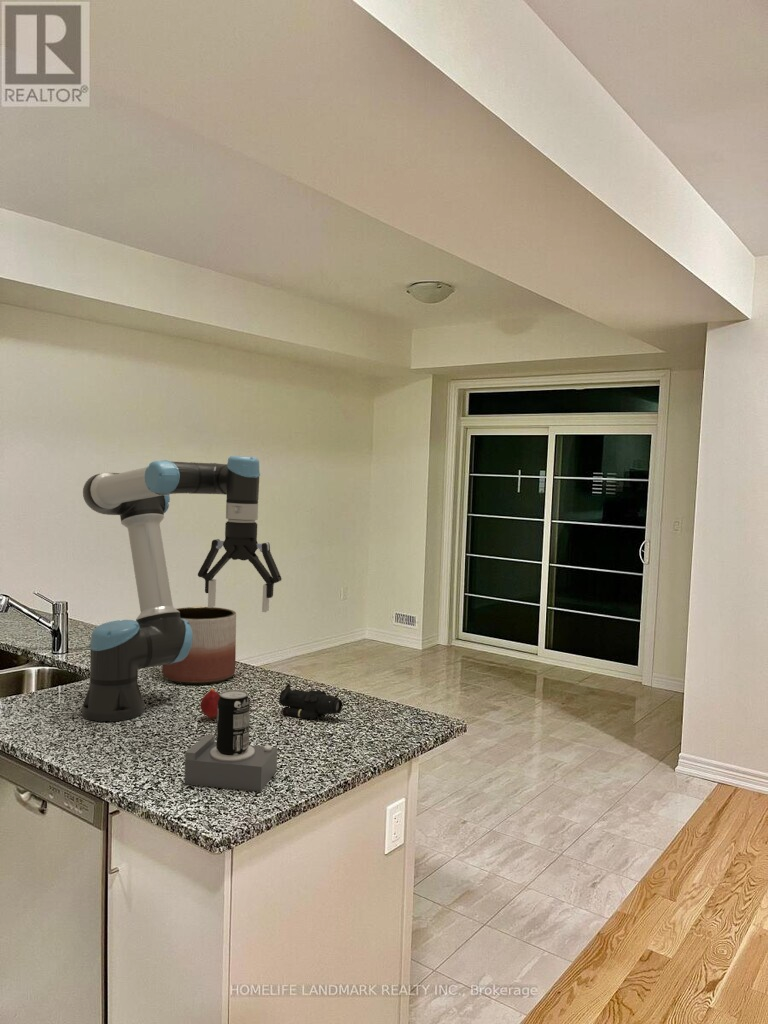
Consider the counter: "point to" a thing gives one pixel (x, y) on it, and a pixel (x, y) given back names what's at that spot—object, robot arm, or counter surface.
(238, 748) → the beverage can
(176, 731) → the counter surface
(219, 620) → the planter
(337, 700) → the night vision scope
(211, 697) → the onion
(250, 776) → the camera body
